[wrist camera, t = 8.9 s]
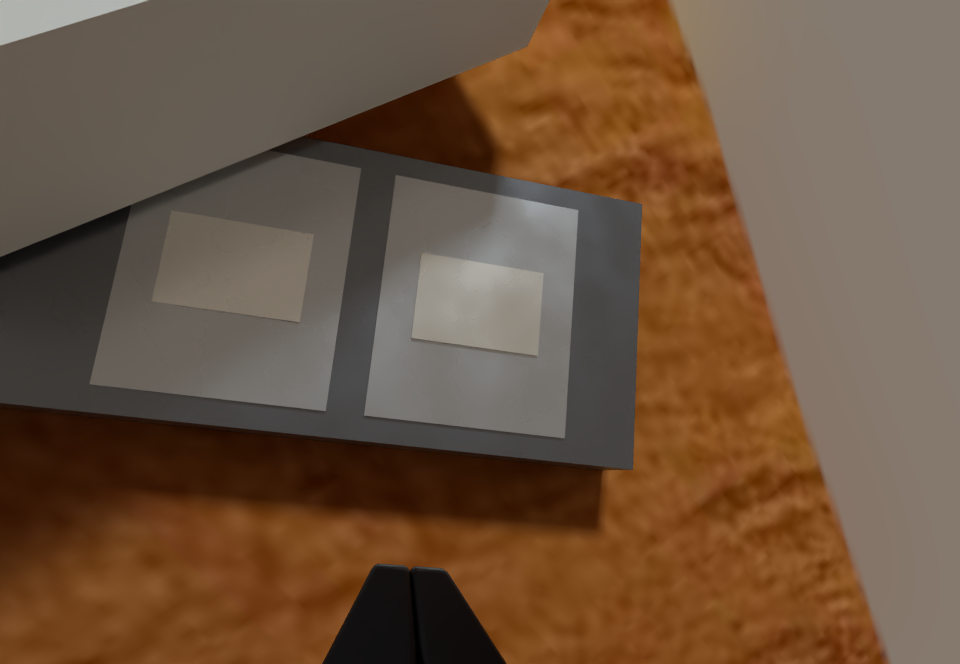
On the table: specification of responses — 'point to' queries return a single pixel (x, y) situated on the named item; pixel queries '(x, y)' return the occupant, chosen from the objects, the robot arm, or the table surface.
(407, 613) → the robot arm
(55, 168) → the upright grey slab
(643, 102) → the table surface
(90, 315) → the server tray
